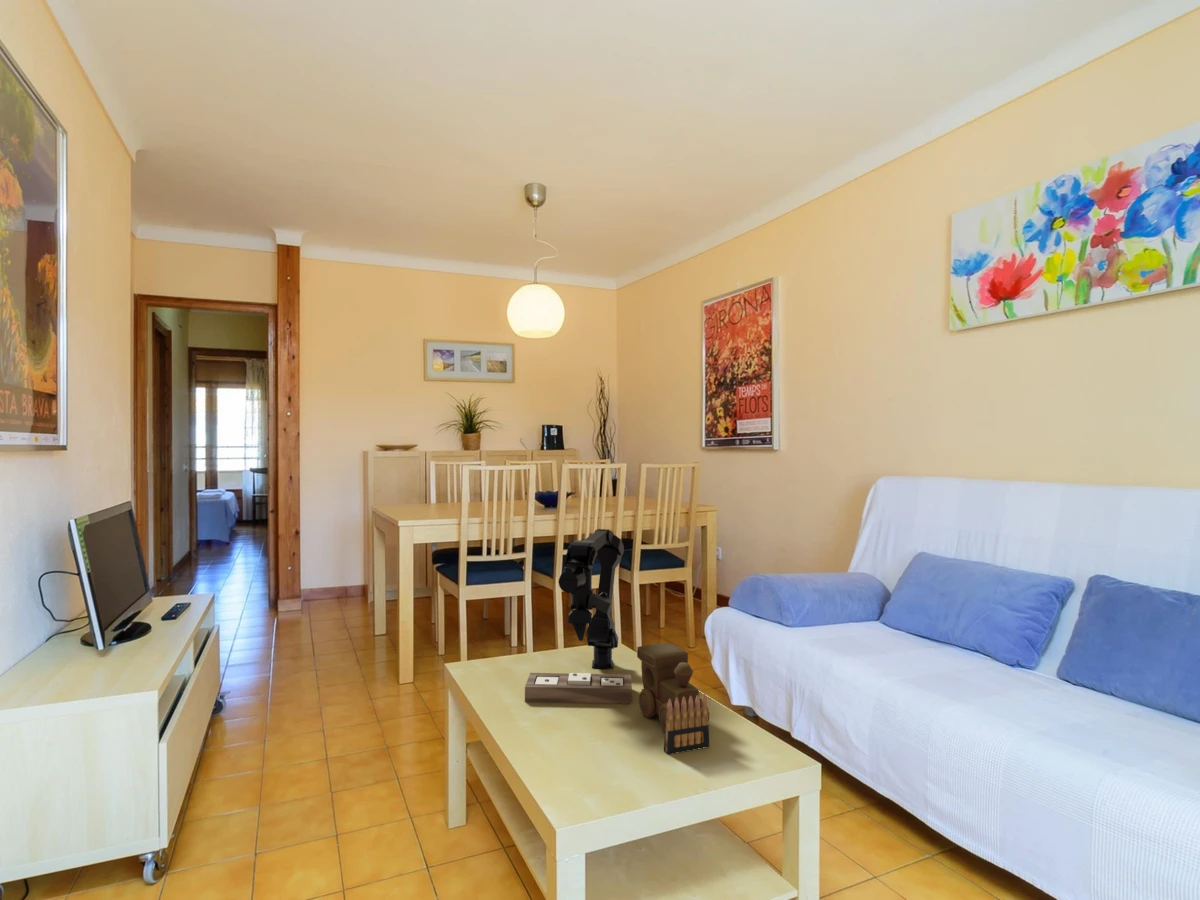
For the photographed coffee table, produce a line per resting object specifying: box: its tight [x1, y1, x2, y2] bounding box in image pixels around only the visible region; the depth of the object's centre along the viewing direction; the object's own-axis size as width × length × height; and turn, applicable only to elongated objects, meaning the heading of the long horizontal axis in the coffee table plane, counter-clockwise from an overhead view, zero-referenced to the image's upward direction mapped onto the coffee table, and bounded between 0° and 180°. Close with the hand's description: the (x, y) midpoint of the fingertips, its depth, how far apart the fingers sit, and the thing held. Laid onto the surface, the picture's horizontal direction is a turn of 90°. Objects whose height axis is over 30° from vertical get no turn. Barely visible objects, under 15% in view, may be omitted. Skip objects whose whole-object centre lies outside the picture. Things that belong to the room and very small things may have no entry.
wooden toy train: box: [636, 642, 710, 732], centre depth 161 cm, size 20×11×17 cm, turn 24°
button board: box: [524, 672, 633, 705], centre depth 177 cm, size 11×29×4 cm, turn 89°
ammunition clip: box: [663, 693, 710, 755], centre depth 146 cm, size 11×2×12 cm, turn 110°
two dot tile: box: [568, 672, 592, 685], centre depth 177 cm, size 6×6×3 cm
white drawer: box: [535, 677, 559, 684], centre depth 177 cm, size 6×6×3 cm
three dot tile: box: [601, 678, 623, 686], centre depth 177 cm, size 6×6×3 cm
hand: (581, 640), depth 184 cm, fingers closed
